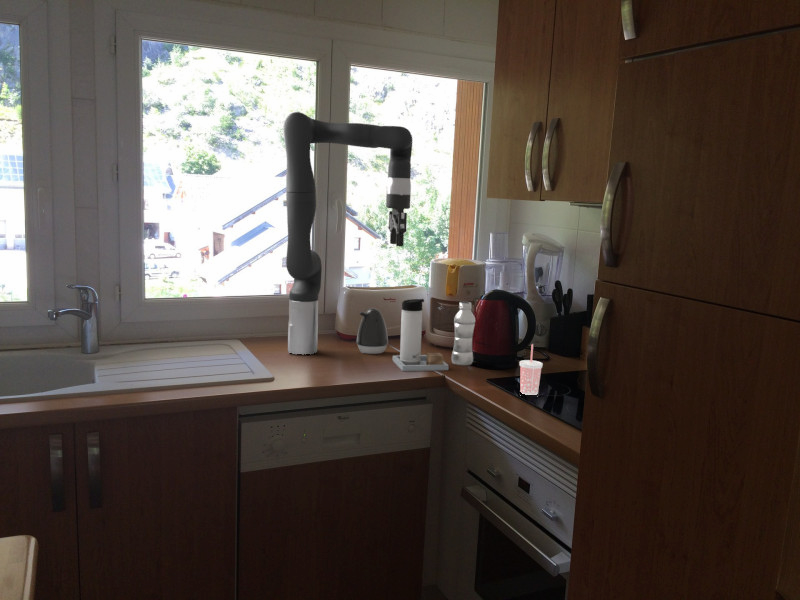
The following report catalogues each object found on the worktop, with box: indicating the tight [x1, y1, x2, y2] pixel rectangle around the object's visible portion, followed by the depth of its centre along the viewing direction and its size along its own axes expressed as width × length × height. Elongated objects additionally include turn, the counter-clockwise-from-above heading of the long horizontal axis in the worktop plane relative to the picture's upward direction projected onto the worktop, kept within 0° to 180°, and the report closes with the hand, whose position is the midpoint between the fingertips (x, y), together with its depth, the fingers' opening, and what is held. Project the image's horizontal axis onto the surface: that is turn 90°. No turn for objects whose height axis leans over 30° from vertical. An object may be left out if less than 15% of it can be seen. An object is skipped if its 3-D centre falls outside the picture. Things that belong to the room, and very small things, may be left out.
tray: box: [392, 354, 449, 372], centre depth 203 cm, size 14×13×2 cm
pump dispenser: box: [356, 307, 389, 355], centre depth 219 cm, size 10×10×15 cm
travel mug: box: [399, 298, 425, 365], centre depth 203 cm, size 6×7×20 cm
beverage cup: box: [519, 343, 544, 395], centre depth 178 cm, size 6×6×14 cm
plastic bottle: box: [451, 301, 476, 366], centre depth 207 cm, size 6×7×20 cm
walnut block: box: [426, 352, 444, 365], centre depth 201 cm, size 4×4×4 cm
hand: (396, 245), depth 212 cm, fingers open, 8 cm apart
